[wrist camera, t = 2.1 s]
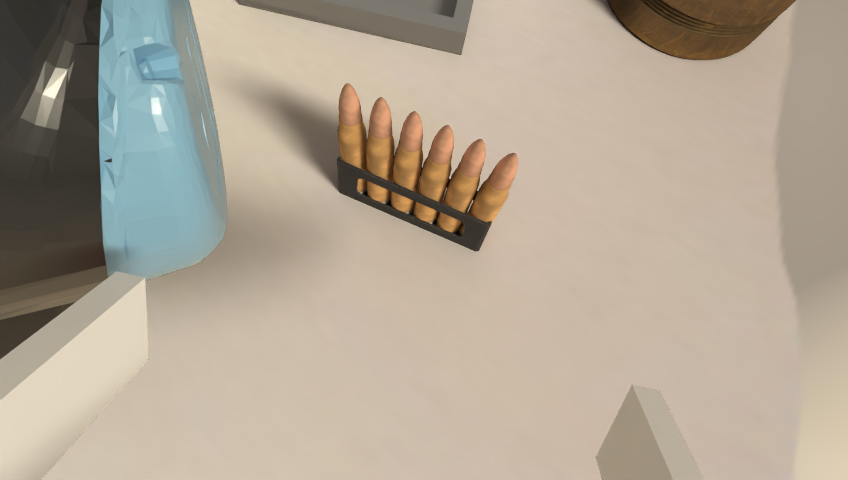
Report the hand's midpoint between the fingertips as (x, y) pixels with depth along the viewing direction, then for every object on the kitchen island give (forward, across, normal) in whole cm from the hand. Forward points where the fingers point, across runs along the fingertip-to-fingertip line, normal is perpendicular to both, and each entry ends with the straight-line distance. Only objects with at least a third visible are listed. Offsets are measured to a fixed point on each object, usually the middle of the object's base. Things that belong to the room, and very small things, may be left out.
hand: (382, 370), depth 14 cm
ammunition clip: (+22, 0, -5) cm, 23 cm away
